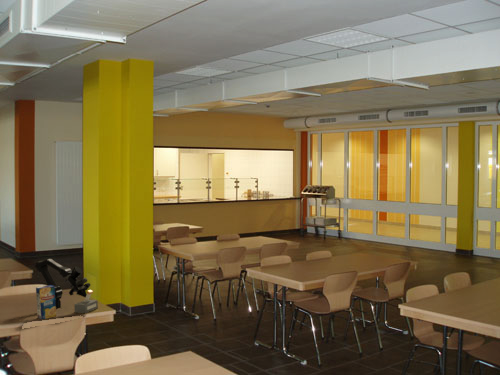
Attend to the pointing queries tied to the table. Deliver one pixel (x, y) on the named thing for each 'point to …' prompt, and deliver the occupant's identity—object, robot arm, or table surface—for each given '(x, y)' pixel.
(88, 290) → the breaker lever
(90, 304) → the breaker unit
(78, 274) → the robot arm
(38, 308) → the blue cracker box
